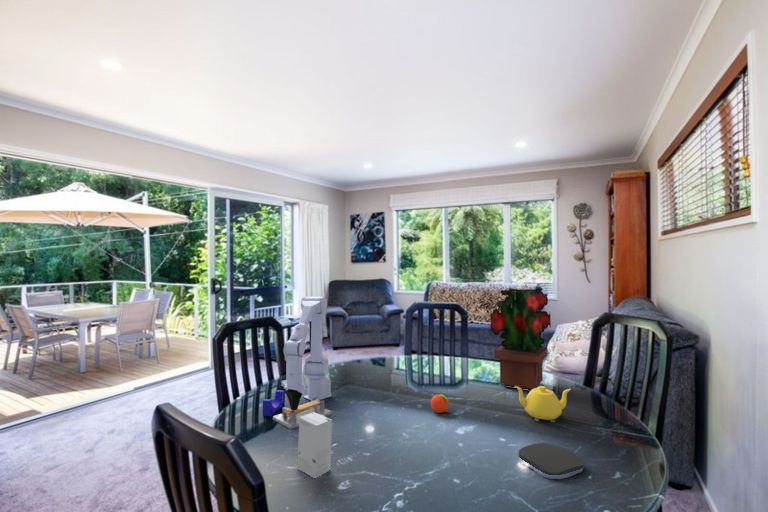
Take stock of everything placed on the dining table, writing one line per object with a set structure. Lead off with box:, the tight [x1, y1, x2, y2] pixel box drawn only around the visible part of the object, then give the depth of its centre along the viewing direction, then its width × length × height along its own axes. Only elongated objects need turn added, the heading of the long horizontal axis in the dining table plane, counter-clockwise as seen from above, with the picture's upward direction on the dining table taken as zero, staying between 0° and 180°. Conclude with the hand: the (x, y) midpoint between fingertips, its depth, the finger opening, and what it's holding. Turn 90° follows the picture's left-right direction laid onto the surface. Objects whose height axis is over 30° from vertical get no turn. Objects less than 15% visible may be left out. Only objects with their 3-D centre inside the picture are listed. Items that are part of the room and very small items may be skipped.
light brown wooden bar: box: [284, 399, 321, 415], centre depth 147 cm, size 15×4×2 cm, turn 136°
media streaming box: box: [518, 442, 585, 475], centre depth 112 cm, size 15×15×3 cm
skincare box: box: [296, 412, 333, 479], centre depth 109 cm, size 8×6×15 cm
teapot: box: [515, 385, 572, 421], centre depth 145 cm, size 20×15×12 cm
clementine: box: [430, 393, 450, 414], centre depth 150 cm, size 8×7×7 cm
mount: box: [272, 397, 332, 430], centre depth 146 cm, size 18×12×5 cm, turn 136°
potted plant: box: [489, 288, 552, 390], centre depth 181 cm, size 22×22×45 cm
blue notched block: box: [262, 389, 285, 417], centre depth 154 cm, size 12×4×6 cm, turn 168°
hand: (294, 409), depth 144 cm, fingers closed, pressing on light brown wooden bar
